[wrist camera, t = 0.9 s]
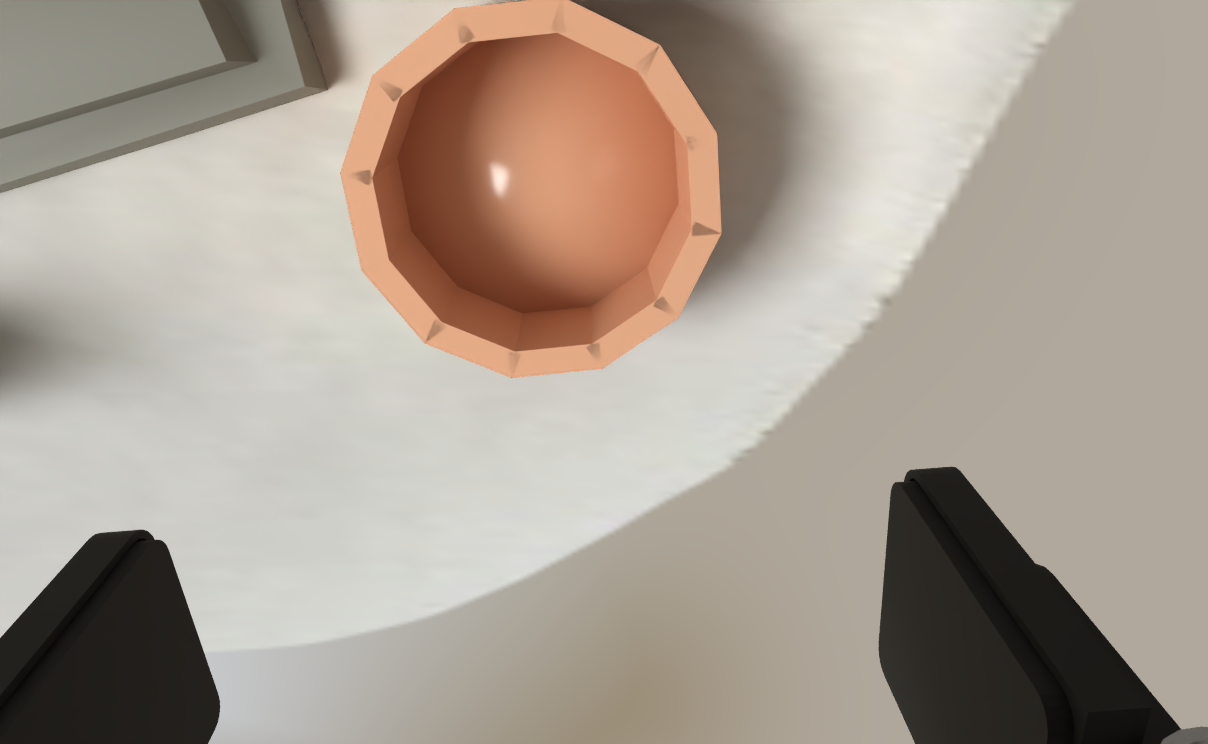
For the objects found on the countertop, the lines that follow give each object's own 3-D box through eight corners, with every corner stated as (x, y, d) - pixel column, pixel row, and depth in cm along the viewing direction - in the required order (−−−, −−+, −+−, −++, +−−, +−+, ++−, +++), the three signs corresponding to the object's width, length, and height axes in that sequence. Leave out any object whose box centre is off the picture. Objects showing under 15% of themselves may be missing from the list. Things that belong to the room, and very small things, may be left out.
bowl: (348, 22, 30) (307, 24, 26) (690, -15, 30) (710, -20, 26) (412, 340, 35) (387, 390, 31) (707, 311, 35) (726, 356, 30)
